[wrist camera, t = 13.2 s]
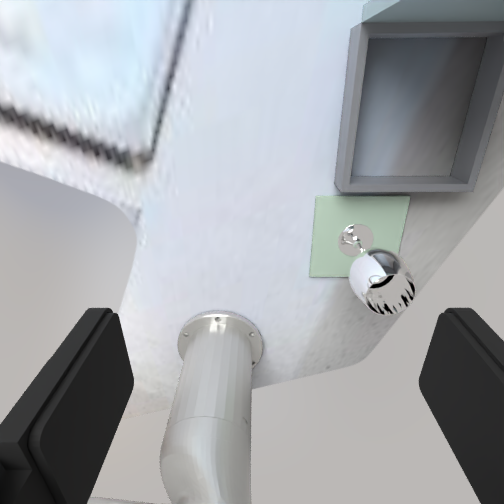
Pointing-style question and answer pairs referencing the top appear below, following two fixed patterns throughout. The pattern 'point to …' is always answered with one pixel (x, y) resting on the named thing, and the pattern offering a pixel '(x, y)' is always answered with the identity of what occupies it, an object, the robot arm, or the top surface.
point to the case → (482, 101)
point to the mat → (348, 213)
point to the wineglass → (376, 272)
